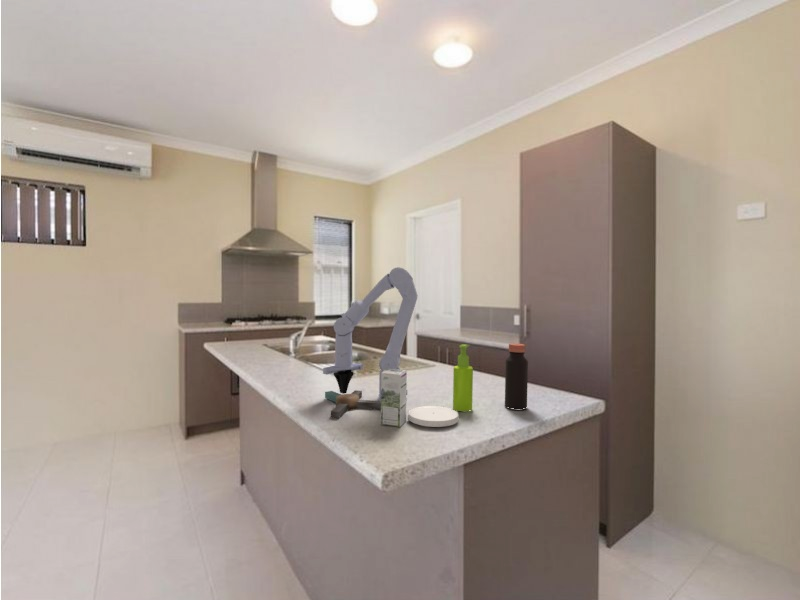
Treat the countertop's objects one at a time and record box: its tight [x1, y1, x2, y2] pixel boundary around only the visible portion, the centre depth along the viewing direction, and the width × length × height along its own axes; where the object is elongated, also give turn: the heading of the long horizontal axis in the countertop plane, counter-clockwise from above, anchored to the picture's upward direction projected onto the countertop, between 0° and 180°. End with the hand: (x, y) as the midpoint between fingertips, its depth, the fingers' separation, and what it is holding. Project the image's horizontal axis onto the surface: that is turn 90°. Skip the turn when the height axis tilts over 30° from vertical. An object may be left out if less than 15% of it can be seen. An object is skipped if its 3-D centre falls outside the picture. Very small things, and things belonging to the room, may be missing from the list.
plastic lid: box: [407, 405, 459, 428], centre depth 111 cm, size 14×14×2 cm
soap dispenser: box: [452, 343, 474, 412], centre depth 122 cm, size 6×7×20 cm
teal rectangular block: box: [324, 390, 342, 403], centre depth 129 cm, size 8×2×2 cm, turn 40°
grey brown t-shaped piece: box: [330, 390, 381, 420], centre depth 123 cm, size 16×24×3 cm, turn 170°
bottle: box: [504, 343, 529, 409], centre depth 124 cm, size 7×7×20 cm
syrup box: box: [380, 369, 408, 428], centre depth 108 cm, size 6×6×14 cm
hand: (343, 392), depth 134 cm, fingers closed
